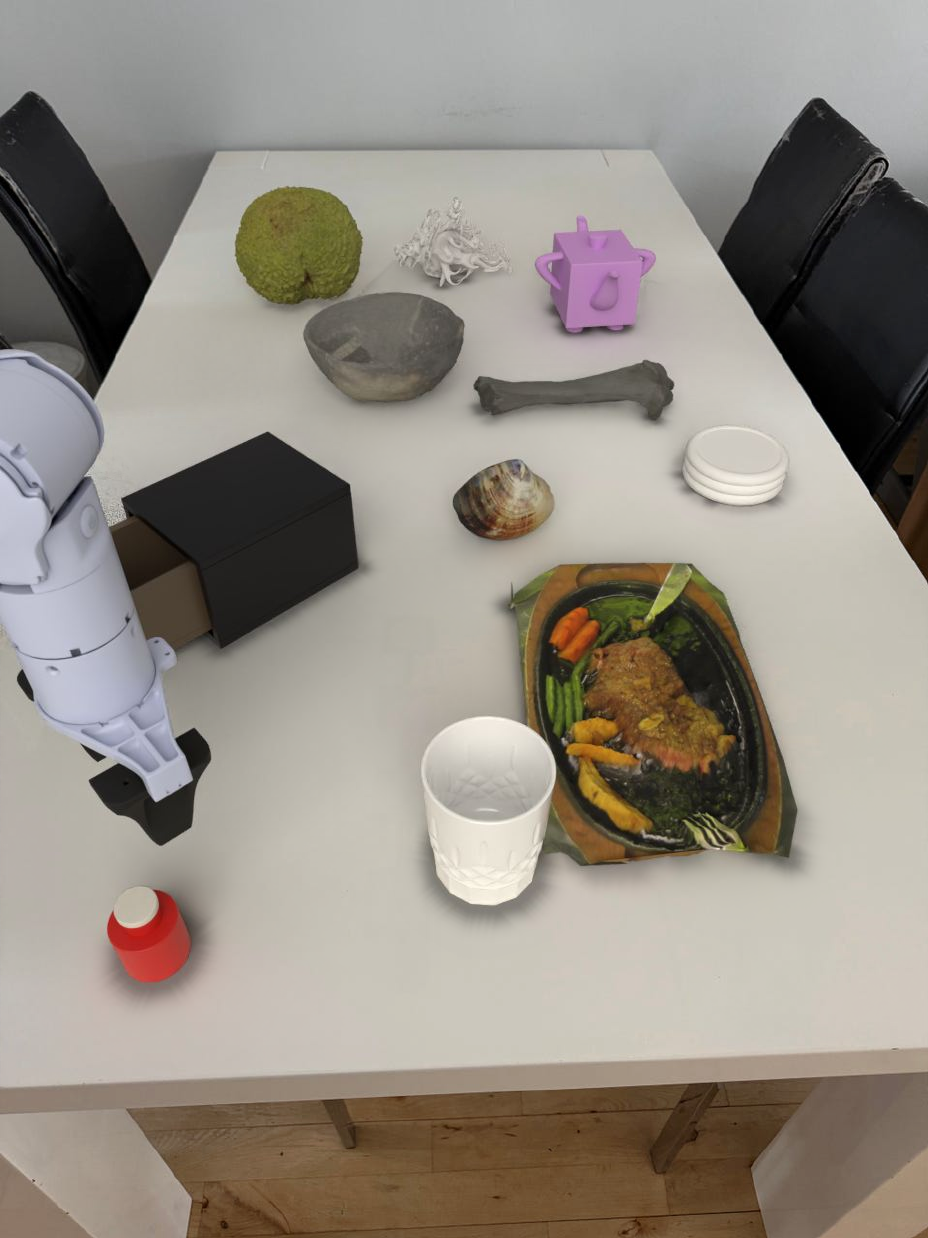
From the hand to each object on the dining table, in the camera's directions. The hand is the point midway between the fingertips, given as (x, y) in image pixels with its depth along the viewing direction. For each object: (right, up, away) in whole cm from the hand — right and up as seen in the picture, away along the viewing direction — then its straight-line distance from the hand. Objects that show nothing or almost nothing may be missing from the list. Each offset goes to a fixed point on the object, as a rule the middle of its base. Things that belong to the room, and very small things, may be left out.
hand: (141, 789), depth 52 cm
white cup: (+20, -6, +8) cm, 22 cm away
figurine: (+17, +58, +76) cm, 97 cm away
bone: (+31, +33, +49) cm, 66 cm away
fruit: (-3, +53, +71) cm, 89 cm away
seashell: (+22, +18, +33) cm, 44 cm away
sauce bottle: (0, -10, +3) cm, 11 cm away
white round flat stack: (+46, +24, +40) cm, 65 cm away
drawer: (-8, +9, +22) cm, 25 cm away
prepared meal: (+32, +3, +18) cm, 37 cm away
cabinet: (0, +14, +29) cm, 32 cm away
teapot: (+35, +49, +66) cm, 90 cm away
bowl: (+10, +37, +53) cm, 65 cm away
